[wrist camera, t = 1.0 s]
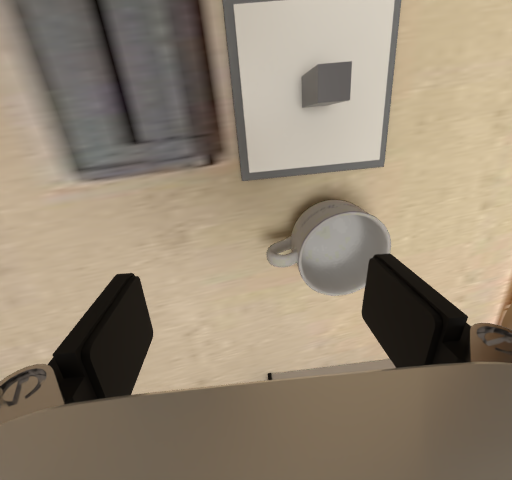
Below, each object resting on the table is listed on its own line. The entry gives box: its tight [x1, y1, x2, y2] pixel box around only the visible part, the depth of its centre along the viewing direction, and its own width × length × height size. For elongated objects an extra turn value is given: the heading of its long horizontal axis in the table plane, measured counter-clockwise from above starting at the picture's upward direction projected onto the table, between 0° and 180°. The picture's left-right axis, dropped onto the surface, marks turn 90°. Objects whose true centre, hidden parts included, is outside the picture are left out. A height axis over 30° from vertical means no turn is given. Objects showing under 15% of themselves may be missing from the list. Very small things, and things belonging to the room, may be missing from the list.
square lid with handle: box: [234, 0, 395, 173], centre depth 26 cm, size 16×16×7 cm
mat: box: [223, 0, 401, 181], centre depth 30 cm, size 18×18×1 cm
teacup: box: [267, 200, 391, 296], centre depth 33 cm, size 14×11×8 cm
